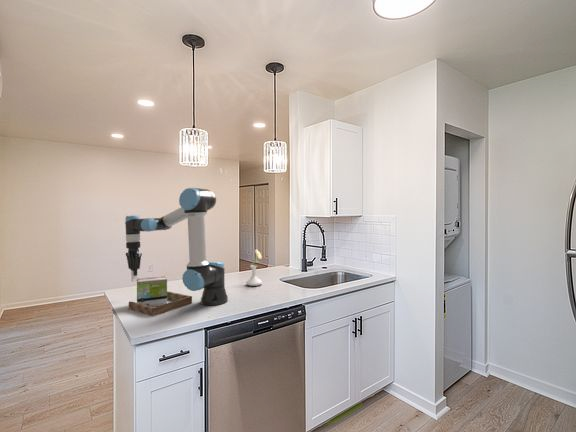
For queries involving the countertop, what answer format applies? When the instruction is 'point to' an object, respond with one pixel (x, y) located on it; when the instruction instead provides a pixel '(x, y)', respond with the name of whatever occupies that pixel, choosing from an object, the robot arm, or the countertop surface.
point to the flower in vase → (254, 280)
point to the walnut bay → (153, 311)
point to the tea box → (152, 291)
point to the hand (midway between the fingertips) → (134, 280)
